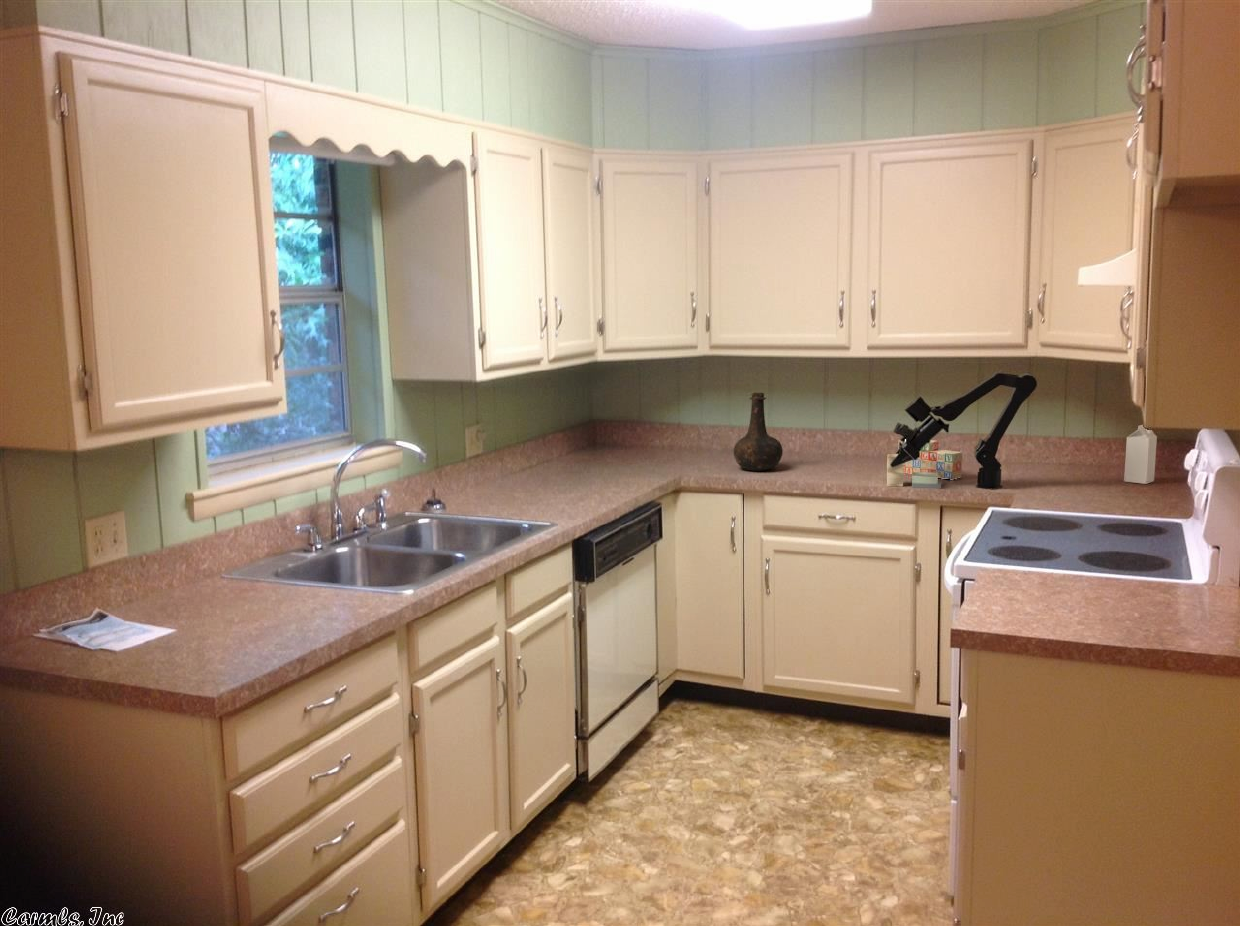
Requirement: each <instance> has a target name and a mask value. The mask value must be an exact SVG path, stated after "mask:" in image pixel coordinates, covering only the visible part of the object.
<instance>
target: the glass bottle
mask: <svg viewBox="0 0 1240 926" xmlns="http://www.w3.org/2000/svg"><path fill="white" fill-rule="evenodd" d="M766 399H767V398H766V397H765V392H751V397H750V398H749V400H751V405H750V406H751V409H750V419H749V425H748V429H747V433H746V434H745V435H744V436H743V437H742V438H740V439H739V440H738V441H737V442H736V443H735V445H734V448H733V456H734V460H735V461H736V463H737V464H738V465H739V466H740V467H741V468H743V469H744V470H747V471H750V470H751V472H763V471H764V472H765V471H769V470H771V469H774V468H775V467H776V466H777V465H778V464H779V463H780V461H781V460H782V456H783V452H784V450H783V446H782V444H781V442H780V441H779V440H778V439H776V438H775V437H773V436H770V435H769V433H768V432H767V428H766V419H765V418H766V417H765V402H764V401H765V400H766Z"/></svg>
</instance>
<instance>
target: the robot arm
mask: <svg viewBox="0 0 1240 926" xmlns="http://www.w3.org/2000/svg"><path fill="white" fill-rule="evenodd" d="M1000 386H1004V387H1009V388H1012V389H1011V394H1010V396H1009V399H1008V400H1007V402H1006V404H1005V405H1004V408H1003V409H1002V411H1001V413H1000V414H999V415H998V418H997V419H996V422H995V423H994V425H993V426H992V428H991V430H990V431H989V434H987V436H985V438H982V437H979V439H978V441H977V444H976V445H975V446H974V447H973V449H974V452H973V455H974V458H975V460H976V462H977V463H978V464H980V466H981V467H978V472H977V476H976V477H977V481H976V483H977V484H976V485H975V487H976V486H978V487H977V488H981V487H985V488H984V489H988V488H992V489H991V490H995V489H994V488H997V489H999V488H998V487H1000V488H1003V487H1004V485H1003V484H1002V468H1001V467H1002V464H1001V462H1000V461H999V460H998V459H997V458H996V456H997V453H998V449H999V447H1000V446H999V445H1000V443H1001V440H1002V438H1003V437H1004V435H1005V433H1006V431H1007V429H1009V426H1010V425H1011V423H1012V421H1013V419H1014V418H1015V416H1016V414H1017V413H1018V411H1019V409H1020V407H1021V406H1022V404H1023V403H1024V402H1025V401H1026V400H1027V399H1028V398H1029V397H1030V396H1031V395H1032V394H1033V392H1034V391H1035V390H1036V389H1037V386H1038V381H1037V379H1036V378H1035V377H1034V376H1033V375H1032V374H1030V373H1027V372H1026V373H1025V372H1024V373H1021V374H1019V375H1018V374H1012V373H1004V372H1001V371H996V372H994V373H993V374H991V376H989V377H987V378H986V379H985V380H984V381H983V380H982V381H981V382H980V383H978V384H977V385H976V386H974V387H973V388H971V389H970V390H968V391H966V392H965V393H964V394H961V395H960V396H956V397H954V398H952V399H949V400H947V401H945V402H943V403H942V404H941V405H936V406H935V405H934V406H930V405H929V403H927V402H926V401H925V400H924V398H923V397H922V396H918V397H917V398H916V399H914V400H913V401H911V402H910V403H909V404H908V405H907V406H906V407H905V409H904V412H905V413H906V414H907V415H909V417H910V418H912V419H913V420H914V421H915V422H916V423H918V422H920V423H921V425H919V426H918V427H915V428H914V429H913V428H911V427H909V425H907V424H905V423H903V424H902V423H901V422H897V423H896V425H895V426H894V429H893V433H894V434H896V435H900V436H901V437H900V438H899V440H901V441H902V443H901V442H899V449H898V448H897V451H896V453H895V454H898V455H897V456H896V458H895V459H894V460H893V462H892V463H891V464H890V465H891V466H892V467H894V466H897V465H900V464H902V463H905V462H908V461H911V460H917V459H918V458H919V457H920V451H921V449H922V448H923V447H924V446H925V445H926V444H927V443H930V442H931V441H930V440H932V439H933V438H935V437H936V436H937V435H938V434H940V432H941V431H942V430H943V431H944V432H946V433H949V431H950V430H949V428H950V423H945V422H944V421H946V422H953V421H955V420H956V419H957V418H958V417H959V416H960V415H962V414H963V413H964V411H966V409H967V408H969V406H971V405H973V404H974V403H975V402H977V401H978V400H979V399H981V398H983V397H984V396H986V395H987V394H989V393H990V392H992V391H993V390H995V389H997V388H998V387H1000ZM933 415H934V416H935V417H934V416H933ZM936 417H938V418H936ZM922 422H923V423H922ZM1002 486H1003V487H1002Z"/></svg>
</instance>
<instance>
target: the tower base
mask: <svg viewBox="0 0 1240 926" xmlns="http://www.w3.org/2000/svg"><path fill="white" fill-rule="evenodd" d="M911 483H912V478H910V484H911ZM911 488H912V489H929V490H930V489H933V490H935V489H936V490H938V489H939V490H940V489H942V483H941V479H938V483H937V484H927V483H912V485H911Z"/></svg>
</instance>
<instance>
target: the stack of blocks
mask: <svg viewBox="0 0 1240 926" xmlns="http://www.w3.org/2000/svg"><path fill="white" fill-rule="evenodd" d="M930 441H931V442H930V443H927V444H926V445H925V446H924V447H923V448H922V449H921V451H920V457H919V458H918V459H917V460H911V461H908V462H905V463H903V473H908V474H913V472H926V473H938V478H948V479H955V478H958V477H961V478H962V461H963V460H962V459H963V451H954V450H945V449H939V440H932V439H931V440H930ZM897 442H898V444H897V445H898V447H897V450H898V449H899V442H901V443H902V441H901V440H900V439H898V440H897Z"/></svg>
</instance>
